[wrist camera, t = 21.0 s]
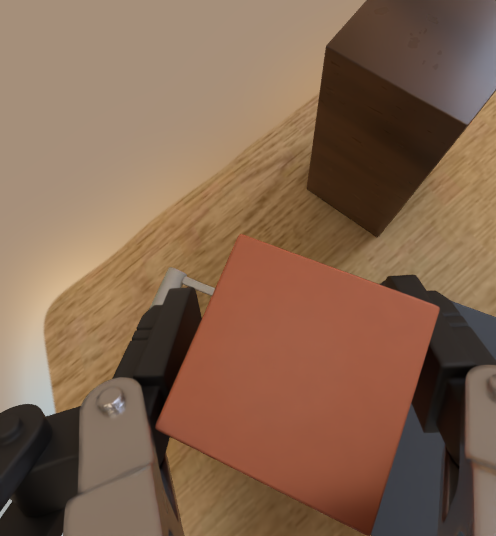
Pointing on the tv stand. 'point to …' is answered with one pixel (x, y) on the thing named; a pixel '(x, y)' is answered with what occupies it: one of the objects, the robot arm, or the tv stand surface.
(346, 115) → the stand
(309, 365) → the block
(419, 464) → the cabinet
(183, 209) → the tv stand surface
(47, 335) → the tv stand surface
